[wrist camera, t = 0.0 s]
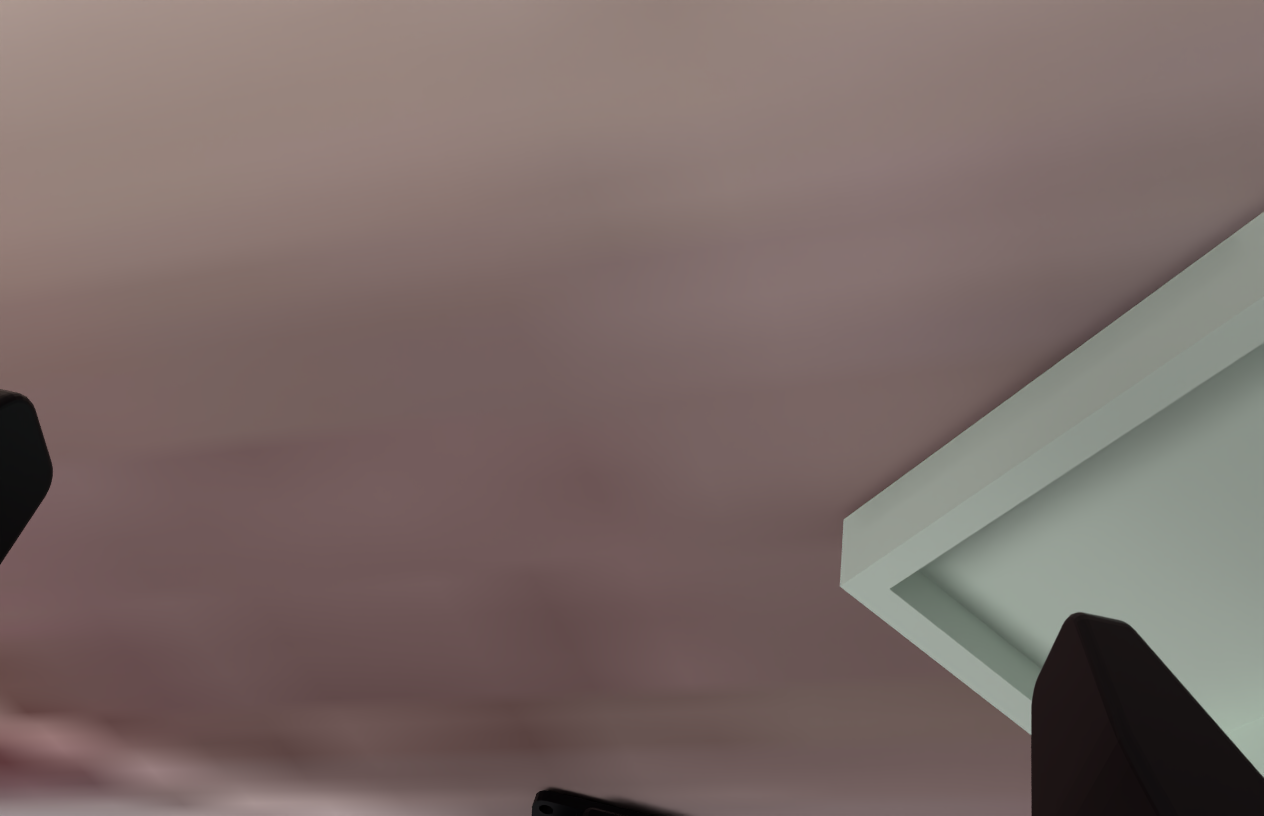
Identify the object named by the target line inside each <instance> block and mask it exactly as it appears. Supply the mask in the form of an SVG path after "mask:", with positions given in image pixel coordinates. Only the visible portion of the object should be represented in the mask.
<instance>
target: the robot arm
mask: <svg viewBox="0 0 1264 816" xmlns="http://www.w3.org/2000/svg"><path fill="white" fill-rule="evenodd" d="M52 476H53V467H52V462H51V459H50V456H49V452H48V449H47V446H46V443H45V439H44V436H43V433H42V430H41V426H40V423H39V420H38V417H37V413H36V410H35V408H34V405H33V404H32V402H31V401H30V400H29V399H28V398H27V397H26V396H24V395H22V394H20V393H17V392H12V391H7V390H2V389H0V564H1V563H2V561H3V560H4V558H5V557H6V555H7V553H8V552H9V550H10V549H11V547H12V546H13V544H14V543H15V541H16V540H17V538H18V537H19V535H20V534H21V532H22V531H23V529H24V528H25V526H26V525H27V523H28V522H29V520H30V519H31V517H32V516H33V514H34V513H35V511H36V510H37V508H38V507H39V505H40V504H41V502H42V501H43V499H44V498H45V496H46V494H47V492H48V490H49V488H50V485H51V482H52ZM1031 786H1032V816H1264V777H1263V776H1262V775H1261V774H1260V772H1259V771H1258V770H1257V769H1256V768H1255V767H1254V766H1253V764H1252V763H1251V762H1250V761H1249V760H1248V759H1247V757H1246V756H1245V755H1244V754H1243V753H1242V752H1241V751H1240V749H1239V748H1238V747H1237V746H1236V745H1235V744H1234V743H1233V741H1232V740H1231V739H1230V738H1229V737H1228V736H1227V735H1226V733H1225V732H1224V731H1223V730H1222V729H1221V728H1220V727H1219V725H1218V724H1217V723H1216V722H1215V721H1214V720H1213V719H1212V717H1211V716H1210V715H1209V714H1208V713H1207V712H1206V711H1205V709H1204V708H1203V707H1202V706H1201V705H1200V704H1199V702H1198V701H1197V700H1196V699H1195V698H1194V697H1193V696H1192V694H1191V693H1190V692H1189V691H1188V690H1187V689H1186V688H1185V686H1184V685H1183V684H1182V683H1181V682H1180V681H1179V680H1178V678H1177V677H1176V676H1175V675H1174V674H1173V673H1172V672H1171V670H1170V669H1169V668H1168V667H1167V666H1166V665H1165V664H1164V662H1163V661H1162V660H1161V659H1160V658H1159V657H1158V656H1157V654H1156V653H1155V652H1154V651H1153V650H1152V649H1151V647H1150V646H1149V645H1148V644H1147V643H1146V642H1145V641H1144V639H1143V638H1142V637H1141V636H1140V635H1139V634H1138V633H1137V631H1136V630H1135V629H1134V628H1133V627H1131V626H1130V625H1129V624H1128V623H1126V622H1124V621H1121V620H1118V619H1113V618H1108V617H1103V616H1098V615H1093V614H1089V613H1084V612H1077V613H1073V614H1071V615H1070V616H1069V617H1068V618H1067V619H1066V620H1065V621H1064V623H1063V625H1062V627H1061V629H1060V631H1059V633H1058V635H1057V637H1056V639H1055V642H1054V644H1053V646H1052V648H1051V650H1050V652H1049V654H1048V656H1047V659H1046V661H1045V663H1044V665H1043V667H1042V669H1041V671H1040V673H1039V675H1038V678H1037V680H1036V683H1035V687H1034V691H1033V696H1032V705H1031ZM532 816H651V815H647V814H643V813H638V812H634V811H630V810H626V809H622V808H618V807H614V806H610V805H605V804H601V803H597V802H593V801H589V800H585V799H581V798H576V797H572V796H568V795H564V794H560V793H556V792H552V791H545V790H544V791H540V792H538V793H537V794H536V797H535V800H534V803H533V806H532Z"/></svg>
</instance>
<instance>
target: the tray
mask: <svg viewBox="0 0 1264 816" xmlns="http://www.w3.org/2000/svg"><path fill="white" fill-rule="evenodd" d="M840 587H841V588H843V589H844V590H845V591H847V592H848V593H849V594H850V595H852V596H853V597H854V598H856V599H857V600H858V601H859V602H861V603H862V604H863V605H865V606H866V607H867V608H868V609H870V610H871V611H872V612H874V613H875V614H876V615H877V616H879V617H880V618H881V619H883V620H884V621H885V622H886V623H888V624H889V625H890V626H892V627H893V628H894V629H895V630H897V631H898V632H899V633H901V634H902V635H903V636H904V637H906V638H907V639H908V640H910V641H911V642H912V643H913V644H915V645H916V646H917V647H919V648H920V649H921V650H922V651H924V652H925V653H926V654H928V655H929V656H930V657H931V658H933V659H934V660H935V661H937V662H938V663H939V664H940V665H942V666H943V667H944V668H946V669H947V670H948V671H949V672H951V673H952V674H953V675H955V676H956V677H957V678H958V679H960V680H961V681H962V682H964V683H965V684H966V685H967V686H969V687H970V688H971V689H973V690H974V691H975V692H976V693H978V694H979V695H980V696H982V697H983V698H984V699H985V700H987V701H988V702H989V703H991V704H992V705H993V706H994V707H996V708H997V709H998V710H1000V711H1001V712H1002V713H1003V714H1005V715H1006V716H1007V717H1009V718H1010V719H1011V720H1012V721H1014V722H1015V723H1016V724H1018V725H1019V726H1020V727H1021V728H1023V729H1024V730H1025V731H1027V732H1028V733H1029V734H1030V735H1031V705H1032V696H1033V691H1034V687H1035V683H1036V680H1037V678H1038V675H1039V673H1040V671H1041V669H1042V667H1043V665H1044V663H1045V661H1046V659H1047V656H1048V654H1049V652H1050V650H1051V648H1052V646H1053V644H1054V642H1055V639H1056V637H1057V635H1058V633H1059V631H1060V629H1061V627H1062V625H1063V623H1064V621H1065V620H1066V619H1067V618H1068V617H1069V616H1070V615H1071V614H1073V613H1077V612H1084V613H1089V614H1093V615H1098V616H1103V617H1108V618H1113V619H1118V620H1121V621H1124V622H1126V623H1128V624H1129V625H1130V626H1131V627H1133V628H1134V629H1135V630H1136V631H1137V633H1138V634H1139V635H1140V636H1141V637H1142V638H1143V639H1144V641H1145V642H1146V643H1147V644H1148V645H1149V646H1150V647H1151V649H1152V650H1153V651H1154V652H1155V653H1156V654H1157V656H1158V657H1159V658H1160V659H1161V660H1162V661H1163V662H1164V664H1165V665H1166V666H1167V667H1168V668H1169V669H1170V670H1171V672H1172V673H1173V674H1174V675H1175V676H1176V677H1177V678H1178V680H1179V681H1180V682H1181V683H1182V684H1183V685H1184V686H1185V688H1186V689H1187V690H1188V691H1189V692H1190V693H1191V694H1192V696H1193V697H1194V698H1195V699H1196V700H1197V701H1198V702H1199V704H1200V705H1201V706H1202V707H1203V708H1204V709H1205V711H1206V712H1207V713H1208V714H1209V715H1210V716H1211V717H1212V719H1213V720H1214V721H1215V722H1216V723H1217V724H1218V725H1219V727H1220V728H1221V729H1222V730H1223V731H1224V732H1225V733H1226V735H1227V736H1228V737H1229V738H1230V739H1231V740H1232V741H1233V743H1234V744H1235V745H1236V746H1237V747H1238V748H1239V749H1240V751H1241V752H1242V753H1243V754H1244V755H1245V756H1246V757H1247V759H1248V760H1249V761H1250V762H1251V763H1252V764H1253V766H1254V767H1255V768H1256V769H1257V770H1258V771H1259V772H1260V774H1261V775H1262V776H1263V777H1264V212H1263V213H1261V214H1260V215H1259V216H1257V217H1256V218H1255V219H1253V220H1252V221H1250V222H1249V223H1248V224H1246V225H1245V226H1244V227H1242V228H1241V229H1240V230H1238V231H1237V232H1235V233H1234V234H1233V235H1231V236H1230V237H1229V238H1227V239H1226V240H1225V241H1223V242H1222V243H1220V244H1219V245H1218V246H1216V247H1215V248H1214V249H1212V250H1211V251H1210V252H1208V253H1207V254H1205V255H1204V256H1203V257H1201V258H1200V259H1199V260H1197V261H1196V262H1195V263H1193V264H1192V265H1190V266H1189V267H1188V268H1186V269H1185V270H1184V271H1182V272H1181V273H1179V274H1178V275H1177V276H1175V277H1174V278H1173V279H1171V280H1170V281H1169V282H1167V283H1166V284H1164V285H1163V286H1162V287H1160V288H1159V289H1158V290H1156V291H1155V292H1154V293H1152V294H1151V295H1149V296H1148V297H1147V298H1145V299H1144V300H1143V301H1141V302H1140V303H1139V304H1137V305H1136V306H1134V307H1133V308H1132V309H1130V310H1129V311H1128V312H1126V313H1125V314H1124V315H1122V316H1121V317H1119V318H1118V319H1117V320H1115V321H1114V322H1113V323H1111V324H1110V325H1109V326H1107V327H1106V328H1104V329H1103V330H1102V331H1100V332H1099V333H1098V334H1096V335H1095V336H1093V337H1092V338H1091V339H1089V340H1088V341H1087V342H1085V343H1084V344H1083V345H1081V346H1080V347H1078V348H1077V349H1076V350H1074V351H1073V352H1072V353H1070V354H1069V355H1068V356H1066V357H1065V358H1063V359H1062V360H1061V361H1059V362H1058V363H1057V364H1055V365H1054V366H1053V367H1051V368H1050V369H1048V370H1047V371H1046V372H1044V373H1043V374H1042V375H1040V376H1039V377H1038V378H1036V379H1035V380H1033V381H1032V382H1031V383H1029V384H1028V385H1027V386H1025V387H1024V388H1023V389H1021V390H1020V391H1018V392H1017V393H1016V394H1014V395H1013V396H1012V397H1010V398H1009V399H1008V400H1006V401H1005V402H1003V403H1002V404H1001V405H999V406H998V407H997V408H995V409H994V410H992V411H991V412H990V413H988V414H987V415H986V416H984V417H983V418H982V419H980V420H979V421H977V422H976V423H975V424H973V425H972V426H971V427H969V428H968V429H967V430H965V431H964V432H962V433H961V434H960V435H958V436H957V437H956V438H954V439H953V440H952V441H950V442H949V443H947V444H946V445H945V446H943V447H942V448H941V449H939V450H938V451H937V452H935V453H934V454H932V455H931V456H930V457H928V458H927V459H926V460H924V461H923V462H922V463H920V464H919V465H917V466H916V467H915V468H913V469H912V470H911V471H909V472H908V473H906V474H905V475H904V476H902V477H901V478H900V479H898V480H897V481H896V482H894V483H893V484H891V485H890V486H889V487H887V488H886V489H885V490H883V491H882V492H881V493H879V494H878V495H876V496H875V497H874V498H872V499H871V500H870V501H868V502H867V503H866V504H864V505H863V506H861V507H860V508H859V509H857V510H856V511H855V512H853V513H852V514H851V515H849V516H848V517H846V518H845V519H844V523H843V541H842V559H841V577H840Z"/></svg>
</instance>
